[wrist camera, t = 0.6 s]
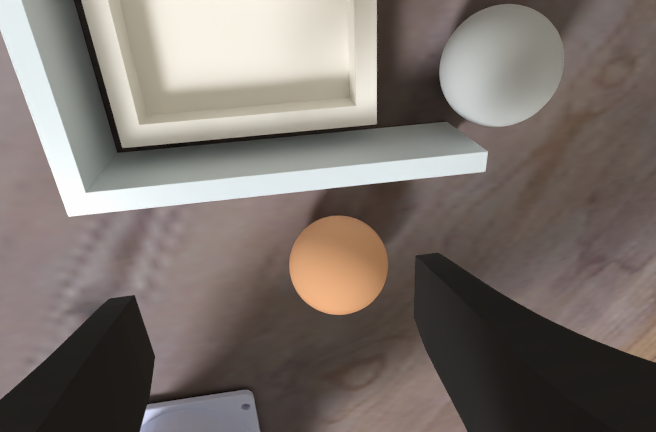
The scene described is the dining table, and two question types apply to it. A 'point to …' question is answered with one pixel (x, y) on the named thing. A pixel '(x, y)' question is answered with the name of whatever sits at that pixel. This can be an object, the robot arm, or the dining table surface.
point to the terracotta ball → (338, 265)
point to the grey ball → (501, 65)
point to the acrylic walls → (201, 160)
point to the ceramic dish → (234, 66)
